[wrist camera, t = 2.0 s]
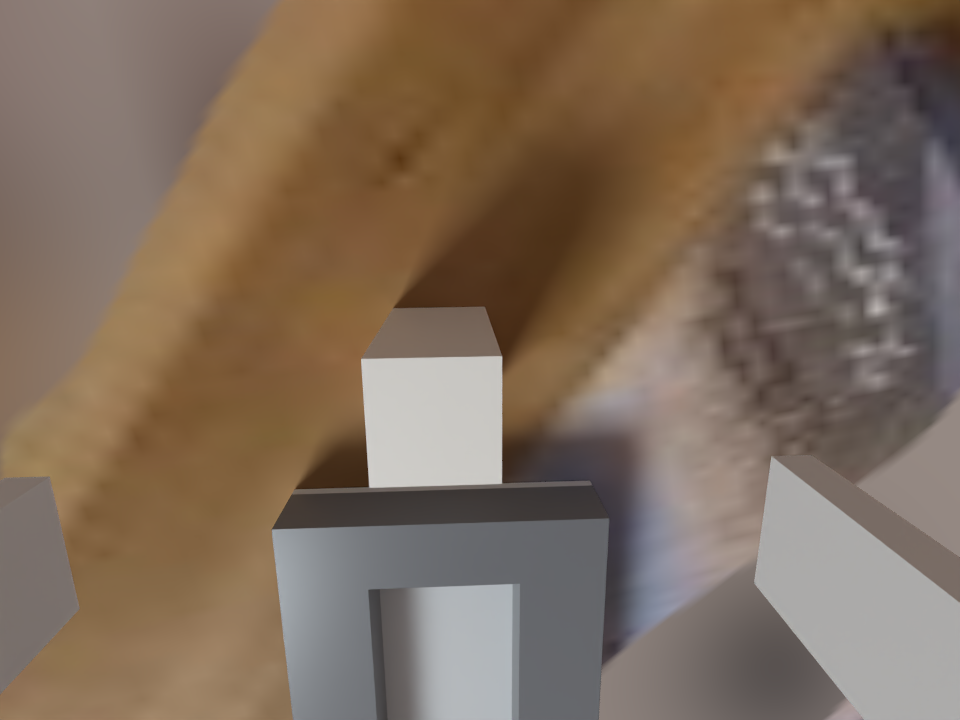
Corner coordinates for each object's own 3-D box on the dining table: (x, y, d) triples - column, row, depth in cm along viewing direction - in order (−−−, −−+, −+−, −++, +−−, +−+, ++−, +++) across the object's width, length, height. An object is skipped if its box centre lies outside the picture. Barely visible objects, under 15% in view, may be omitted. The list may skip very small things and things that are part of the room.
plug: (485, 393, 26) (501, 483, 17) (397, 395, 26) (369, 487, 17) (484, 306, 25) (502, 356, 16) (393, 308, 25) (361, 358, 16)
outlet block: (575, 815, 32) (589, 885, 29) (328, 829, 32) (313, 902, 28) (589, 480, 27) (609, 518, 24) (294, 489, 27) (271, 529, 23)
